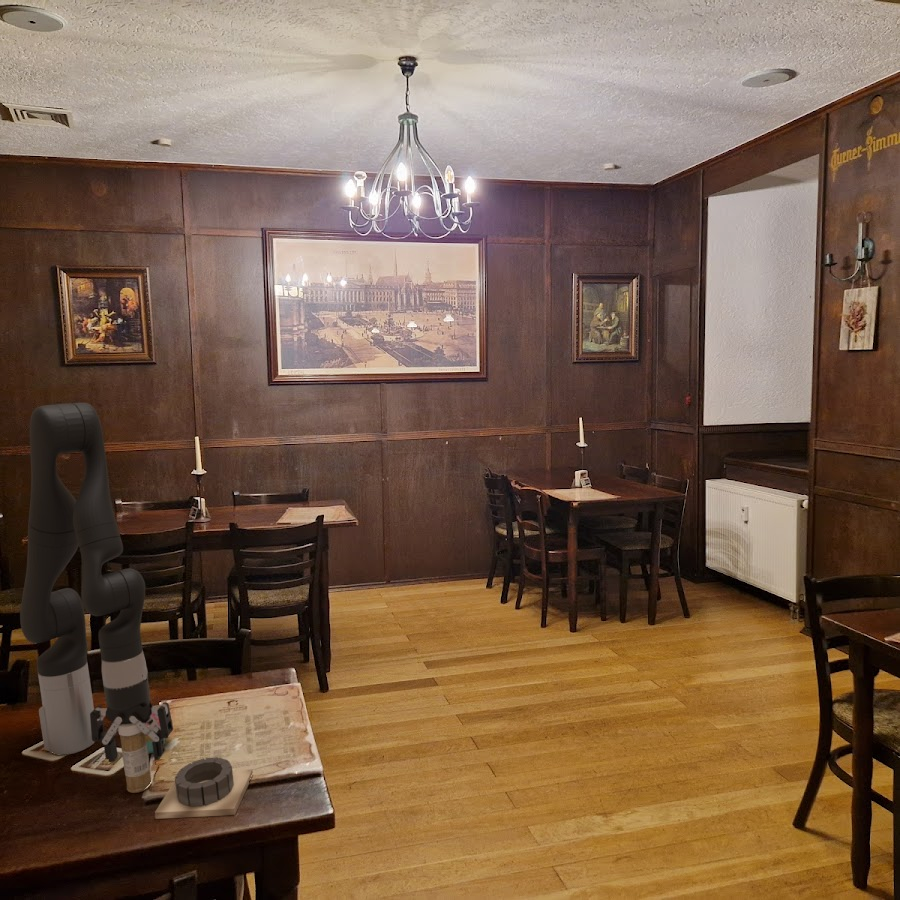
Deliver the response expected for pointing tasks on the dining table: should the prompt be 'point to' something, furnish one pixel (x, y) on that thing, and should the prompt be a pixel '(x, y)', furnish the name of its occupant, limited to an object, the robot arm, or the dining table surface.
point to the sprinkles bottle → (135, 757)
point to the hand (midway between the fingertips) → (136, 758)
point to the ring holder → (205, 790)
